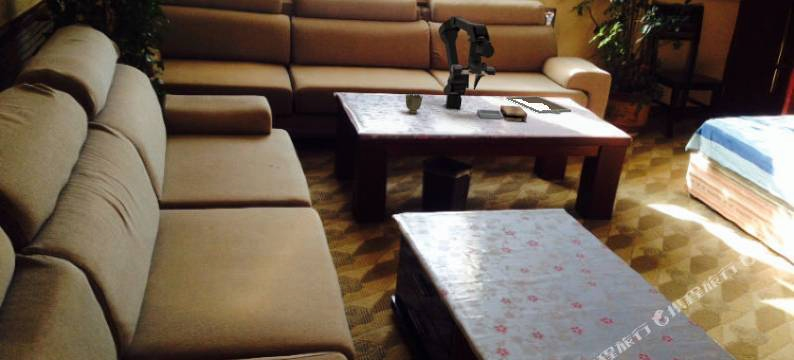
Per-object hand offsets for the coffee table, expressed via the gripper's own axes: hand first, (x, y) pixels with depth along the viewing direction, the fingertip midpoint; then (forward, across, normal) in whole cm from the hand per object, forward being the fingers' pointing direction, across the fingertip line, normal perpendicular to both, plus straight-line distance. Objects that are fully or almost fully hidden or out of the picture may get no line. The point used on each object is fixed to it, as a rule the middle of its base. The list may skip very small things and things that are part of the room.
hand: (471, 89), depth 285 cm
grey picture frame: (+13, +40, +25) cm, 49 cm away
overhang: (+12, +20, 0) cm, 24 cm away
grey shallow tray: (+12, +10, 0) cm, 16 cm away
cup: (+12, -25, -1) cm, 28 cm away
